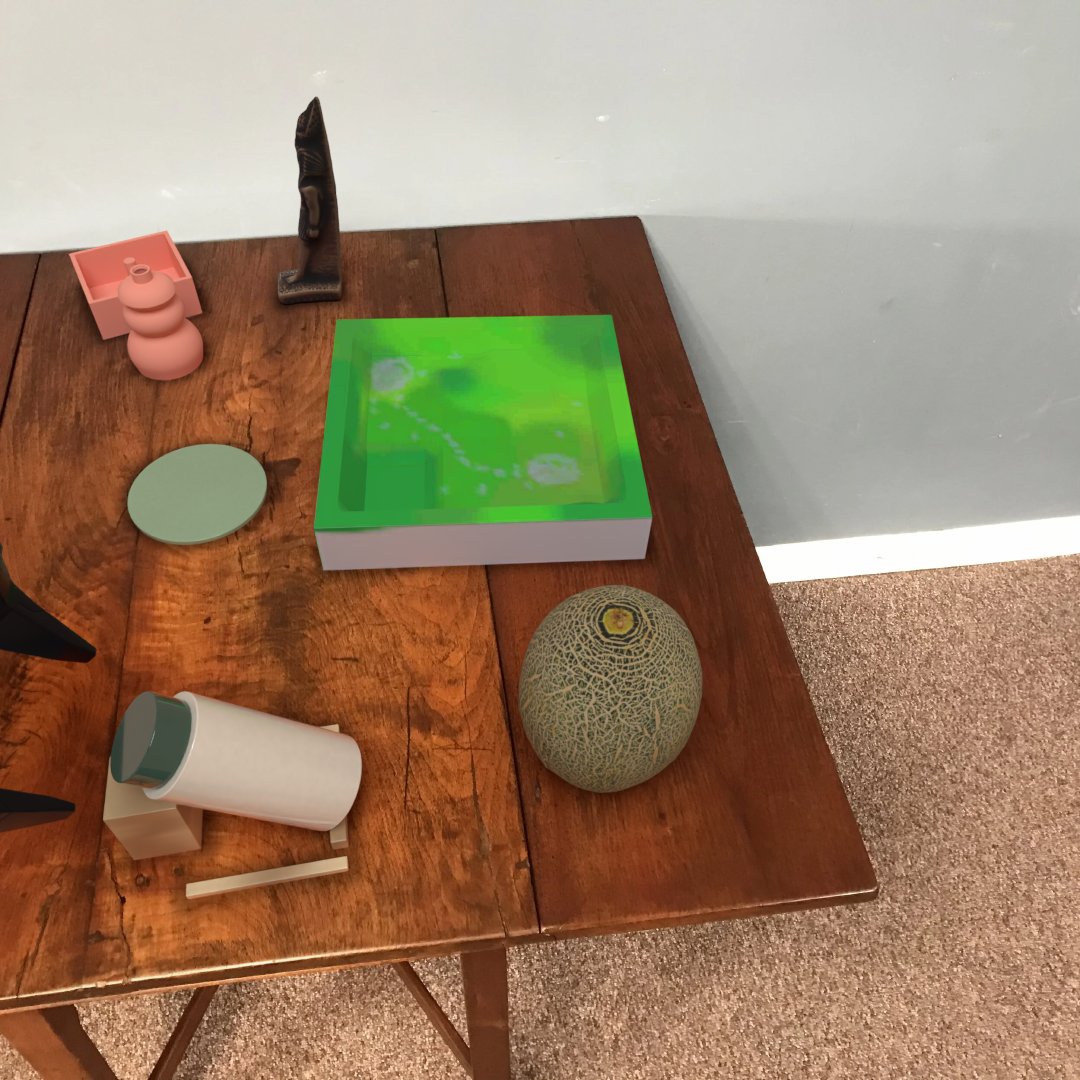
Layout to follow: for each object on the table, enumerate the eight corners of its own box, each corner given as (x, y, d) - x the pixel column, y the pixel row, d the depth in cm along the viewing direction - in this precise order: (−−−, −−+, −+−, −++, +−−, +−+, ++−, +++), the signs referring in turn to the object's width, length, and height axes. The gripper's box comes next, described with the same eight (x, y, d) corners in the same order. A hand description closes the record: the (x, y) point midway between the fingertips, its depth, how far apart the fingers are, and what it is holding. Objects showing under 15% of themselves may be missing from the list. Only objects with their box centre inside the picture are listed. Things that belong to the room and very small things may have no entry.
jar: (159, 873, 57) (81, 778, 47) (165, 783, 61) (94, 677, 51) (374, 834, 59) (342, 734, 49) (367, 749, 62) (336, 639, 53)
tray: (606, 358, 90) (611, 314, 86) (644, 559, 74) (652, 517, 70) (343, 363, 88) (336, 319, 84) (323, 571, 72) (313, 528, 68)
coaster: (143, 563, 72) (141, 559, 72) (117, 470, 78) (115, 466, 78) (284, 519, 75) (283, 515, 75) (248, 433, 82) (247, 429, 81)
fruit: (531, 662, 67) (538, 525, 56) (687, 685, 67) (726, 552, 55) (503, 810, 60) (504, 688, 49) (677, 839, 59) (720, 721, 48)
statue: (279, 283, 96) (238, 85, 81) (349, 278, 97) (322, 82, 82) (279, 308, 93) (237, 108, 78) (351, 302, 94) (323, 104, 79)
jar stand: (130, 910, 55) (96, 872, 51) (142, 758, 62) (114, 712, 57) (350, 871, 57) (337, 831, 53) (341, 727, 64) (328, 680, 59)
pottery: (83, 290, 94) (47, 200, 87) (177, 266, 97) (151, 177, 90) (126, 396, 84) (89, 305, 77) (229, 366, 87) (204, 275, 80)
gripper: (-311, 754, 30) (153, 836, 40) (-149, 375, 41) (177, 512, 51) (-408, 890, 34) (27, 932, 44) (-238, 515, 46) (75, 616, 56)
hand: (83, 729), depth 49 cm, fingers open, 9 cm apart
